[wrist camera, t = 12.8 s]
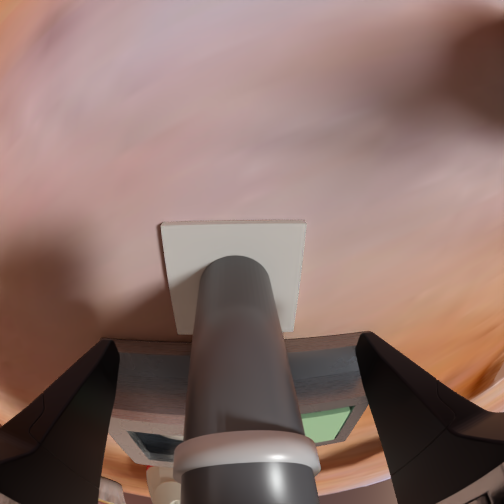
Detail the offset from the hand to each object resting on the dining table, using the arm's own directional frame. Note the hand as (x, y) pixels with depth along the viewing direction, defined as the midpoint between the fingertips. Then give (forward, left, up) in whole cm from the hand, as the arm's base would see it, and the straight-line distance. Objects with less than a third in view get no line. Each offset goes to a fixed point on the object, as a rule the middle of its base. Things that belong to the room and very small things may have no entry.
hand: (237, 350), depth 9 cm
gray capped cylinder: (0, 0, -4) cm, 4 cm away
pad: (0, 0, -4) cm, 4 cm away
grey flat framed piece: (-10, 0, -4) cm, 11 cm away
